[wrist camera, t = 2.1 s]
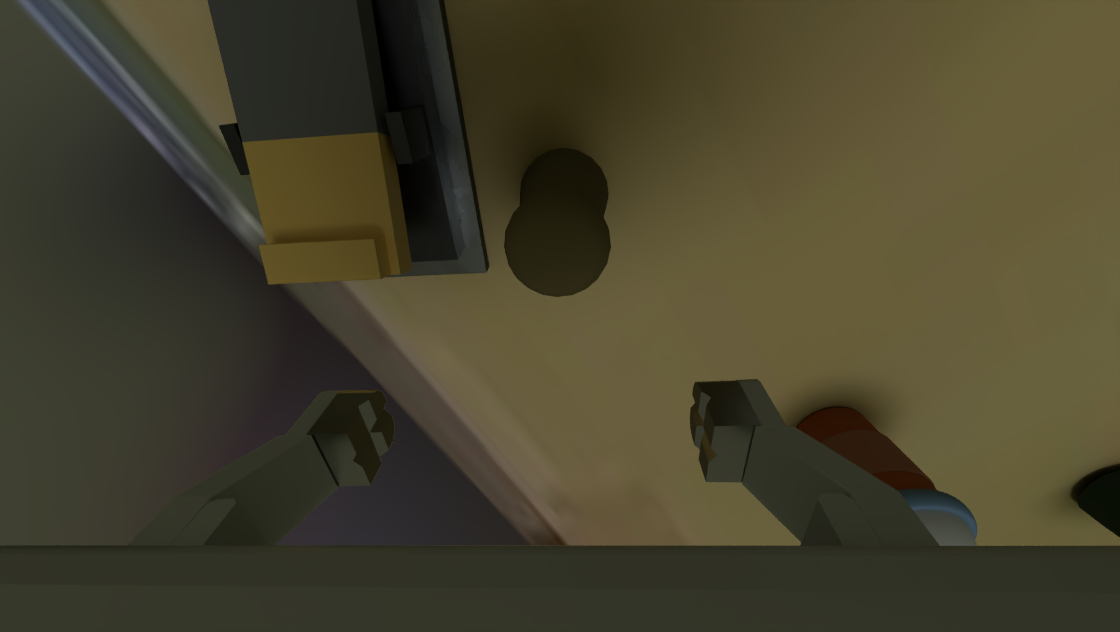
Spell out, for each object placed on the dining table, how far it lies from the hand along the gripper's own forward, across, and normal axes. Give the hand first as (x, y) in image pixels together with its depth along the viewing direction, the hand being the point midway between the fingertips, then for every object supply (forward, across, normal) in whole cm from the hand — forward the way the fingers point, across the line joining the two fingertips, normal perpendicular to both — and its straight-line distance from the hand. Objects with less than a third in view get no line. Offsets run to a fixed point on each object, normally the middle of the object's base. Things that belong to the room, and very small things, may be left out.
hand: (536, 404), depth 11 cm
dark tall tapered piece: (+21, 0, 0) cm, 21 cm away
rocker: (+15, +12, -5) cm, 20 cm away
